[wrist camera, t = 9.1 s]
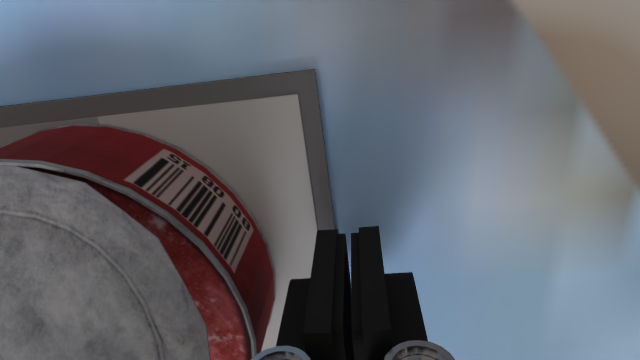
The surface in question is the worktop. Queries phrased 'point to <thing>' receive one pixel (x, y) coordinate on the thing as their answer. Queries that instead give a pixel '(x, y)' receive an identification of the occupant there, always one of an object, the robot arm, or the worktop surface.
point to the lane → (227, 151)
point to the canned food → (125, 252)
